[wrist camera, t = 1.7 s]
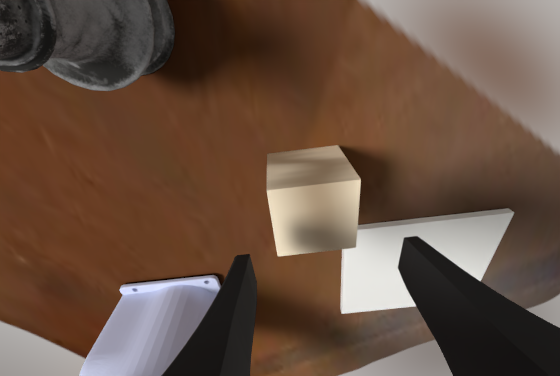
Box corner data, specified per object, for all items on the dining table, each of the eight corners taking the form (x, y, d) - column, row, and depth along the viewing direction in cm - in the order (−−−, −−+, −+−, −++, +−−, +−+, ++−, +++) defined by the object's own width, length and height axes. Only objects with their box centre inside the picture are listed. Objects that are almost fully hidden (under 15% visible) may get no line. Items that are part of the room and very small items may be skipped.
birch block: (275, 209, 20) (277, 256, 15) (267, 153, 17) (266, 190, 13) (336, 202, 19) (356, 247, 15) (337, 144, 17) (360, 179, 13)
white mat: (340, 308, 27) (341, 313, 26) (342, 226, 21) (344, 231, 20) (467, 295, 26) (470, 300, 26) (508, 208, 20) (514, 212, 20)
